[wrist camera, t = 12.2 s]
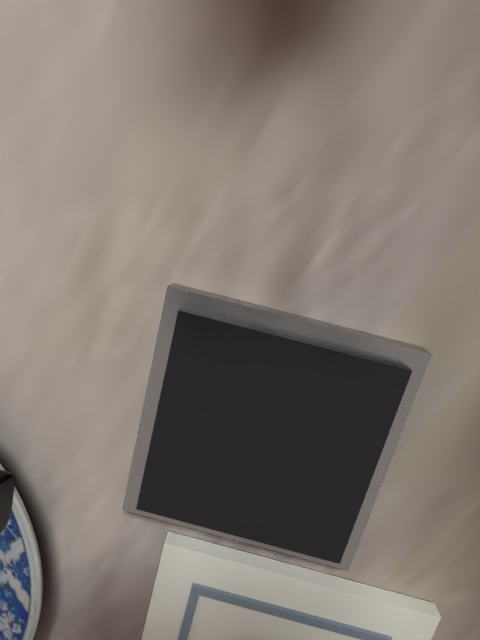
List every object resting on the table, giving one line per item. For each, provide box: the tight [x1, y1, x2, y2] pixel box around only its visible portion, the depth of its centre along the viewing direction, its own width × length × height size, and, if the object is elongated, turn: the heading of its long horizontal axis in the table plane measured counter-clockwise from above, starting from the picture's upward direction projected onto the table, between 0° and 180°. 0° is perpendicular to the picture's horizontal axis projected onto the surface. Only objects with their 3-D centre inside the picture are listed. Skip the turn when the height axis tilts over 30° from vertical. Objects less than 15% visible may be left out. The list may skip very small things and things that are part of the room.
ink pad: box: [122, 283, 431, 571], centre depth 18 cm, size 12×12×2 cm
